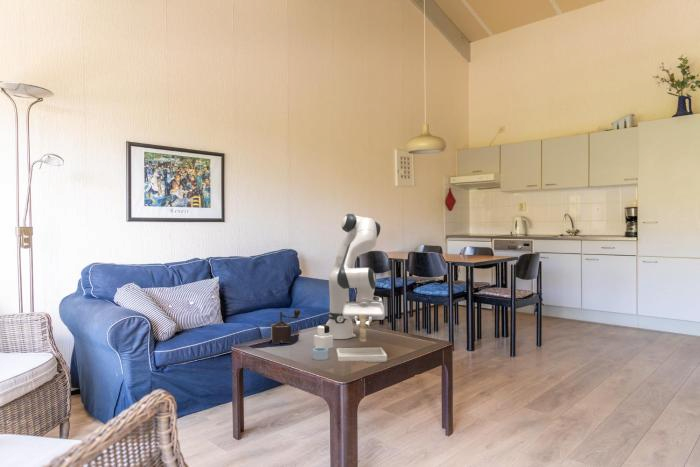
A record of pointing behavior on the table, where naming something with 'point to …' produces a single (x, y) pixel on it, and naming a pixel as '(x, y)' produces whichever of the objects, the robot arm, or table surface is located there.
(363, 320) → the dowel
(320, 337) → the medicine bottle
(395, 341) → the table surface
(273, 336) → the brown coffee grinder
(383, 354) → the tray
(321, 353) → the cup
